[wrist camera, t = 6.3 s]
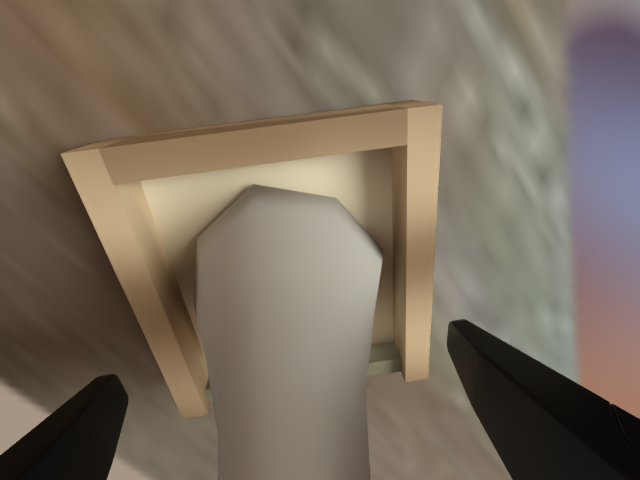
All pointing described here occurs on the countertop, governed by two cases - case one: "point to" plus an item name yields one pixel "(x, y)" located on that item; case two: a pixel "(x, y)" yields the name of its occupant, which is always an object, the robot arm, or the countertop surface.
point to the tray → (279, 172)
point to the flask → (288, 335)
